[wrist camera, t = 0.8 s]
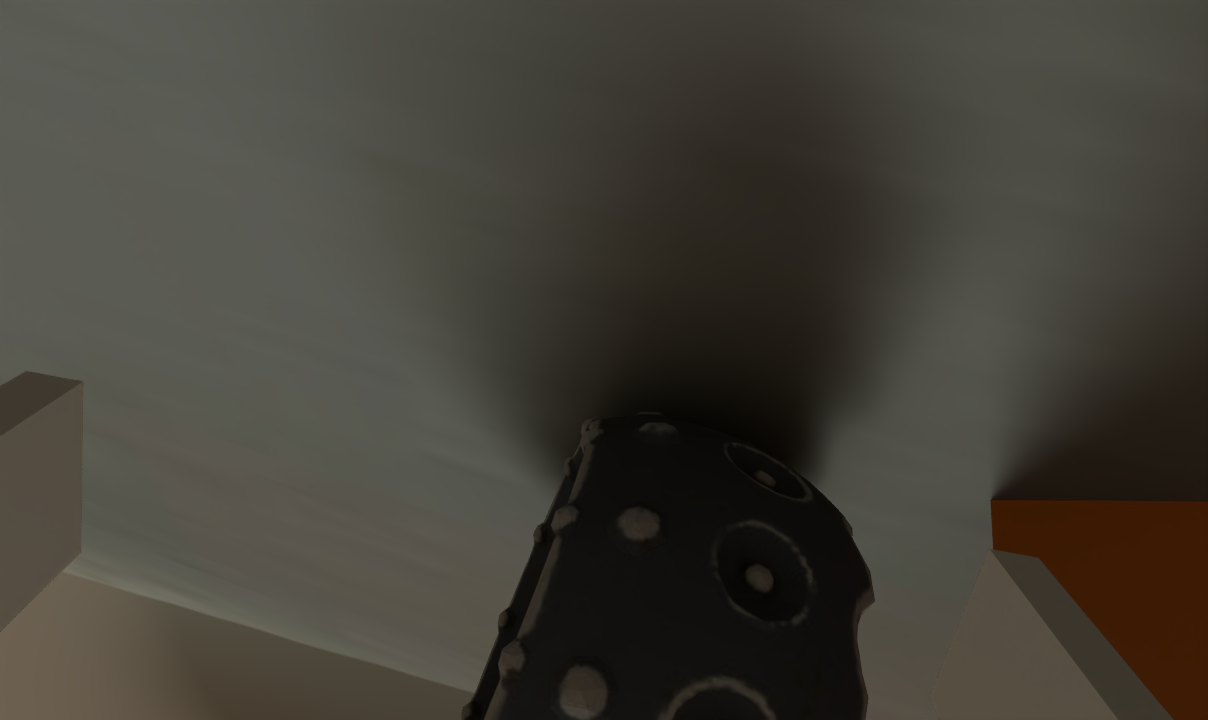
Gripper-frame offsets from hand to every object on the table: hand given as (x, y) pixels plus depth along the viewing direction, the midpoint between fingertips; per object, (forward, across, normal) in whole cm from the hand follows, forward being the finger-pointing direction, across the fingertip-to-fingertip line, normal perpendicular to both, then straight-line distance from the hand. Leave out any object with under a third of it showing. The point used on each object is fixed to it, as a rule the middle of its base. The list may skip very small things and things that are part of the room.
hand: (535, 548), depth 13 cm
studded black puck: (+25, +7, -11) cm, 28 cm away
